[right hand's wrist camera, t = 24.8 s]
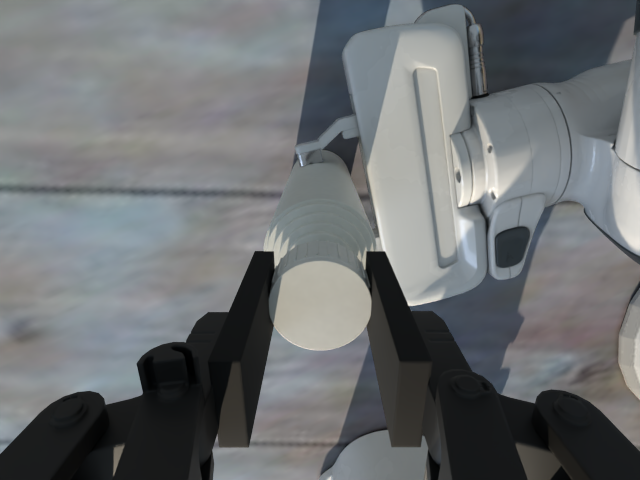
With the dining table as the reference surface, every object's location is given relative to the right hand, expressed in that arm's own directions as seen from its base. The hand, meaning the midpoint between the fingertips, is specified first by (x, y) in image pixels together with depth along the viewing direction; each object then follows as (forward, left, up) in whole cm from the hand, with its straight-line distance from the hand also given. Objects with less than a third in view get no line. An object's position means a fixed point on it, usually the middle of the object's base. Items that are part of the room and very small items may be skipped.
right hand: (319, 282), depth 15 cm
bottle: (0, 0, -21) cm, 21 cm away
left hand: (0, -1, -14) cm, 14 cm away
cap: (0, 0, +2) cm, 2 cm away
